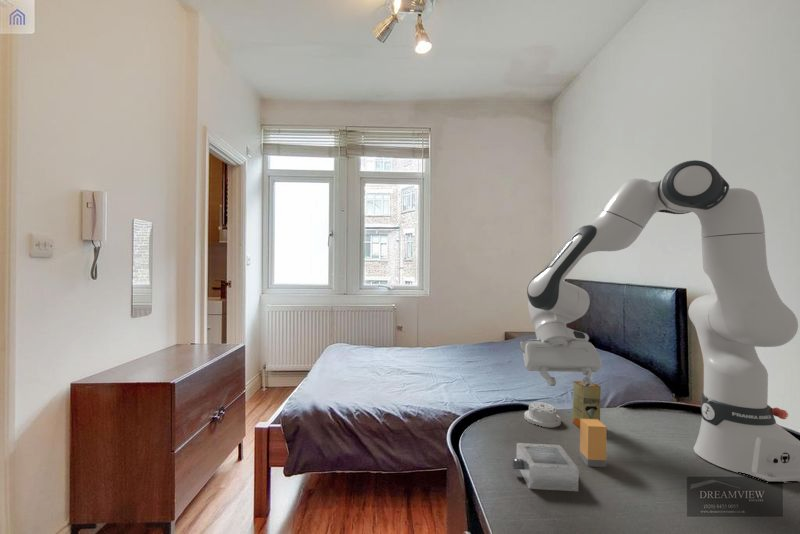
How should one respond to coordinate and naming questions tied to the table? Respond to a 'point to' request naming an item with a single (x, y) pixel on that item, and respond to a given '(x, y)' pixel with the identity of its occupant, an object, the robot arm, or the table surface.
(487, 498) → the table surface
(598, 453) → the plug
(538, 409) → the mechanical component
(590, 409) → the shoe polish box
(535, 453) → the white shallow box
